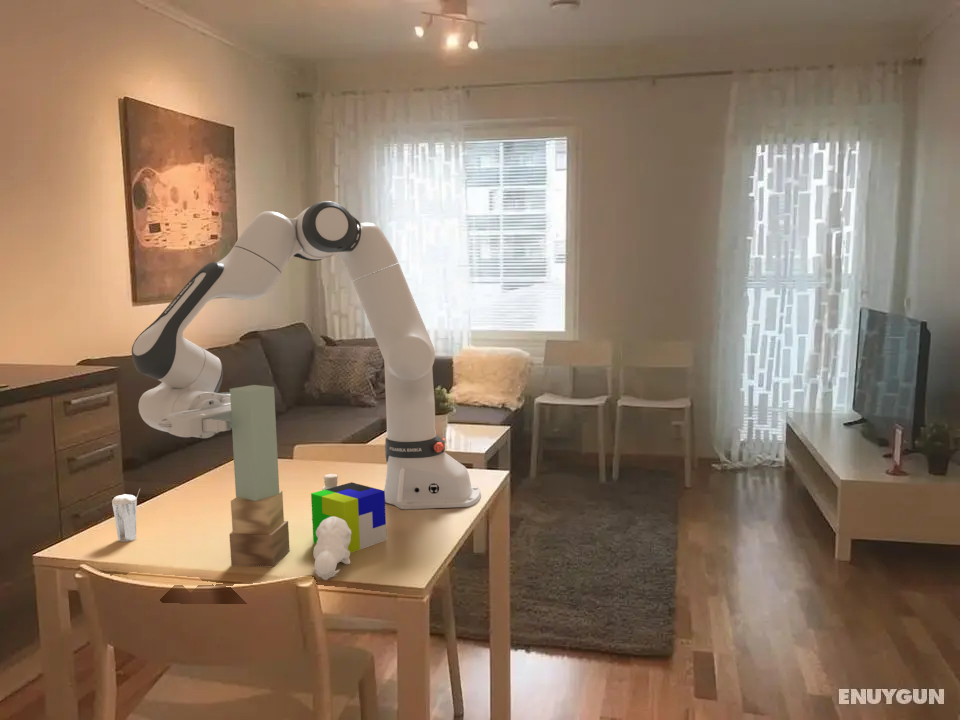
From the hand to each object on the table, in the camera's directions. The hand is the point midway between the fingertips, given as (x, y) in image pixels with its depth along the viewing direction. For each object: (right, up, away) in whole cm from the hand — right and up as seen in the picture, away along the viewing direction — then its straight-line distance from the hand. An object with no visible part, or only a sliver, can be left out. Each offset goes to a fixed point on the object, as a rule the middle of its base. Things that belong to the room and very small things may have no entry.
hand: (248, 421), depth 151 cm
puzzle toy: (+17, -24, +10) cm, 32 cm away
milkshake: (-28, -25, +15) cm, 40 cm away
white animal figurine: (+16, -26, -4) cm, 31 cm away
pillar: (+1, -14, +1) cm, 14 cm away
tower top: (+1, -20, +2) cm, 20 cm away
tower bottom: (+2, -26, +3) cm, 26 cm away
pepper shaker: (+12, -23, +19) cm, 33 cm away
